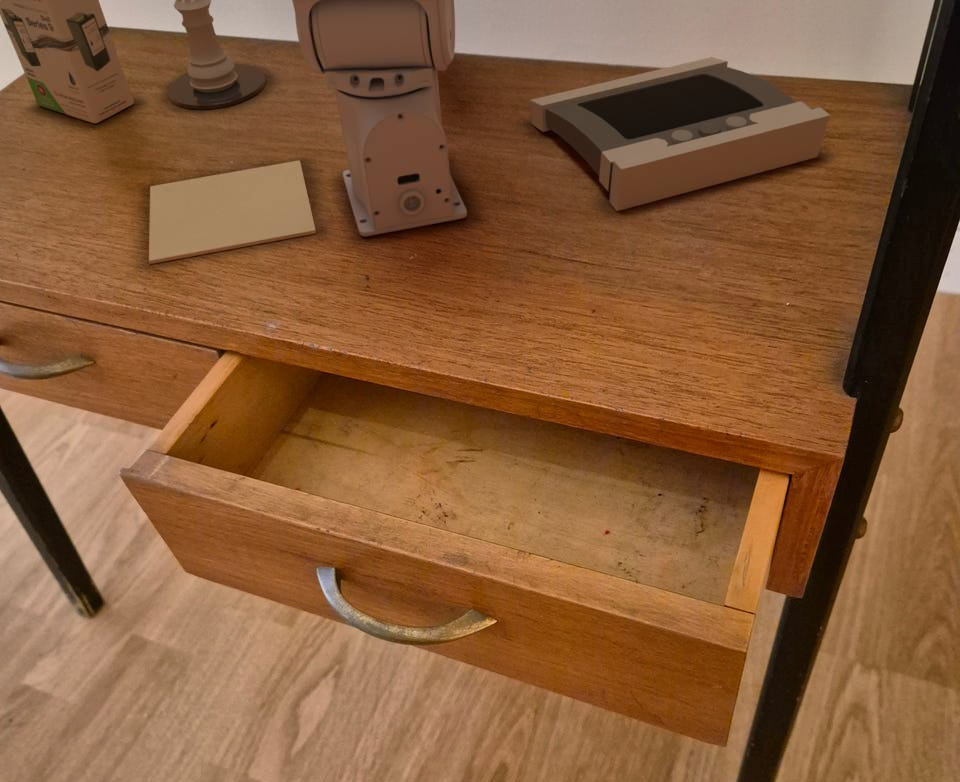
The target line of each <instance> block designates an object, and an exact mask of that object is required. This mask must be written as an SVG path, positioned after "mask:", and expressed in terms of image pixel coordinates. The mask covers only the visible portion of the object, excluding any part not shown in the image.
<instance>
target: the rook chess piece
mask: <svg viewBox="0 0 960 782" xmlns="http://www.w3.org/2000/svg"><path fill="white" fill-rule="evenodd" d="M211 3H212V0H175V1H174V4H173V7H174V9H175V10H176V11H177V12H179V13H180V14H181V16H182V22H181V25H182V26H183V27H184V29H185V32H186V35H187V40H188V41H187V42H188V47H189V57H188V62H189V64H188V66H187V67H186V68H187V69H186V71H187V72H186V73H188V75H189V76H190V77H191V80H190V84H191V86H192V87H193V88H195V89H196V90H197V91H199V92H204V93H214V92H219V91H223V90H226V89H228V88H230V87H231V86H233V85H234V84H235V81H236V79H237V76H238V75H237V73H236V72H235V71H233V68H234V64H235V63H234V62H233V60H232V59H231V57H230V56H228V55H227V54H228V53H227V52H226V50H223V48H222V46H221V44H220V42H219V38H218V36H217V34H216V32H215V28H214V24H213V22H214V20H215V19H214V17H213V16H212V15H211V14H210V5H211Z"/></svg>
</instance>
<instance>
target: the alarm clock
mask: <svg viewBox="0 0 960 782" xmlns="http://www.w3.org/2000/svg"><path fill="white" fill-rule="evenodd" d="M728 63H729V62H728V60H724V59H719V58H716V57H712V56H710V57H706V58H702V59H697V60H693V61H689V62H685V63H681V64H677V65H672V66H667V67H664V68H660V69H656V70H651V71H647V72H643V73H638V74H634V75H630V76H625V77H621V78H617V79H613V80H608V81H605V82H600V83H596V84H591V85H586V86H583V87H578V88H575V89H571V90H566V91H562V92H558V93H554V94H549V95H545V96H541V97H537V98H532V99H529V108H530V121H531V125H532V126H533V127H535V128H536V129H538V130H540V131H541V132H542V133H544V132H549V131H552V132H554V133H555V134H556V135H558V136H559V137H560V138H561V139H562V140H564V141H565V142H567V143H568V144H569V145H570V146H571V147H572V148H573V149H574V150H575V151H576V152H577V154H579V155H580V156H581V157H582V158H583V159H584V160H585V162H586V163H587V164H588V165H589V166H590V167H591V169H592V170H593V171H594V172H595V173H596V174H597V176H599V177H598V182H599V183H600V184H601V185H602V186H603V187H604V189H605V190H606V191H607V192H609V199H608V200H609V204H610V205H611V206H612V208H613V209H614V210H615V211H616V212H619V211H622V210H627V209H630V208H634V207H637V206H641V205H645V204H649V203H652V202H656V201H659V200H660V201H661V200H663V199H668V198H671V197H675V196H678V195H682V194H685V193H690V192H693V191H697V190H700V189H704V188H708V187H711V186H716V185H719V184H723V183H727V182H730V181H734V180H738V179H741V178H745V177H749V176H754V175H756V174H760V173H763V172H764V173H765V172H768V171H771V170H775V169H778V168H782V167H785V166H789V165H793V164H796V163H800V162H804V161H808V160H813V159H816V158H818V156H819V153H820V150H821V147H822V144H823V141H824V136H825V133H826V130H827V128H828V124H829V120H830V117H831V114H829V113H828V112H827V111H826V110H825V109H823V108H822V107H817V108H811V107H809V106H808V105H807V104H805V103H804V102H803V101H802V100H801V101H796V100H795V99H793V98H792V97H791V96H789V95H788V94H787V93H786V92H784V91H782V90H781V89H779V88H778V87H776V86H775V85H772V84H771V83H769V82H767V81H765V80H764V79H762V78H760V77H758V76H755V75H753V74H750V73H747V72H745V71H743V70H739V69H736V68H732V67H729V66H728V65H729V64H728Z"/></svg>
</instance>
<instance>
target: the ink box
mask: <svg viewBox="0 0 960 782" xmlns="http://www.w3.org/2000/svg"><path fill="white" fill-rule="evenodd" d="M0 18H1V21H2V23H3V25H4V28H5V30H6V32H7V35H8V37H9V39H10V42H11V44H12V47H13V49H14V51H15V53H16V56H17V58H18V60H19V63H20V65H21V68H22V70H23V73H24V75H25V77H26V80H27V82H28V85H29V86H30V89H31V92H32V94H33V96H34V99H35V101H36V104H37V105H38V106H39V107H41V108H45V109H49V110H51V111H55V112H57V113H60V114H64V115H67V116H71V117H73V118H76V119H79V120H83V121H86V122H89V123H91V124H99V123H100V122H102V121H104V120H106V119H109V118H110V117H112V116H114V115H115V114H117V113H119V112H121V111H123V110H125V109H127V108H129V107H130V106H133V105H134V104H135V101H134V97H133V95H132V92H131V89H130V86H129V83H128V80H127V78H126V75H125V72H124V69H123V67H122V64H121V61H120V57H119V55H118V52H117V48H116V47H115V44H114V41H113V38H112V35H111V33H110V29H109V27H108V23H107V21H106V17H105V15H104V12H103V9H102V6H101V3H100V1H99V0H0Z"/></svg>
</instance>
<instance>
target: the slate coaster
mask: <svg viewBox="0 0 960 782" xmlns="http://www.w3.org/2000/svg"><path fill="white" fill-rule="evenodd" d="M233 64H234V68H233V71H235V72H236V73H237V75H238V76H237V79H236V81H235V84H234V85H233V86H231V87H230V88H228V89H226V90H223V91H219V92H214V93H204V92H199V91H197V90H196V89H195V88H193V87H192V86H191V84H190V80H191V77H190V76H189V75H188V72H186V73H184V74H182V75H180V76H179V77H177V78H176V79H175V80H173V81H172V82H171V84H170V85H169V87H168V89H167V95H168V97H169V100H170V101H171V102H172V103H173V104H174V105H176V106H178V107H180V108H184V109H188V110H198V111H199V110H203V111H204V110H216V109H222V108H226V107H231V106H235V105H238V104H240V103H243V102H245V101H248V100H249V99H251V98H253V97H255V96H257V95H258V94H259V93H260V92H261V91H262V90H263V89H264V87H265V85H266V76H265V74H264V72H263V71H262V70H261V69H259V68H257V67H255V66H253V65H249V64H243V63H233Z"/></svg>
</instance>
